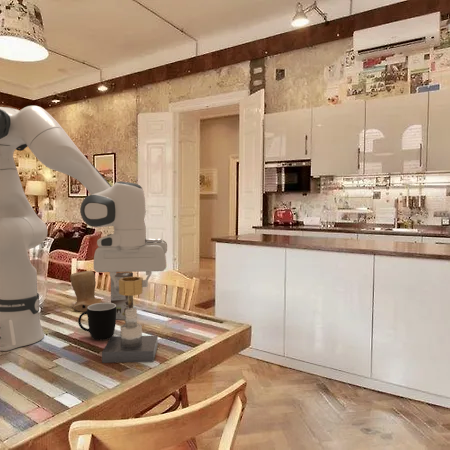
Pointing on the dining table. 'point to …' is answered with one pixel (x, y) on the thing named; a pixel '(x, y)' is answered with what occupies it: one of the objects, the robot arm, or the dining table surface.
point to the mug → (100, 320)
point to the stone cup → (84, 290)
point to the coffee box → (121, 297)
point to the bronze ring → (130, 286)
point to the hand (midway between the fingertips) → (131, 286)
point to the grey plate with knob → (130, 343)
